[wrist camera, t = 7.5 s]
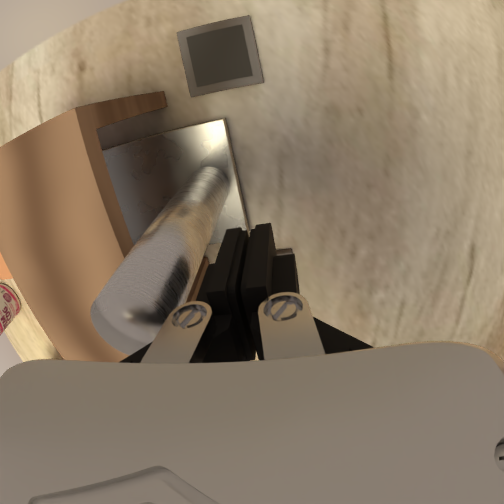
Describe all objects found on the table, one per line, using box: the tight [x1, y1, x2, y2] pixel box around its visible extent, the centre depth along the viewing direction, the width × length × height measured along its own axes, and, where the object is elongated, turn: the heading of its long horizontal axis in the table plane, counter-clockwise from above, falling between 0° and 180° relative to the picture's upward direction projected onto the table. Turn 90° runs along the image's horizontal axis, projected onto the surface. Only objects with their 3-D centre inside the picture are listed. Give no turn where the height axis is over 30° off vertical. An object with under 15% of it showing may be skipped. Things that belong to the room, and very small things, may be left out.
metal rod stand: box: [90, 118, 250, 355], centre depth 18 cm, size 24×9×15 cm, turn 101°
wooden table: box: [0, 15, 292, 363], centre depth 20 cm, size 30×23×11 cm
